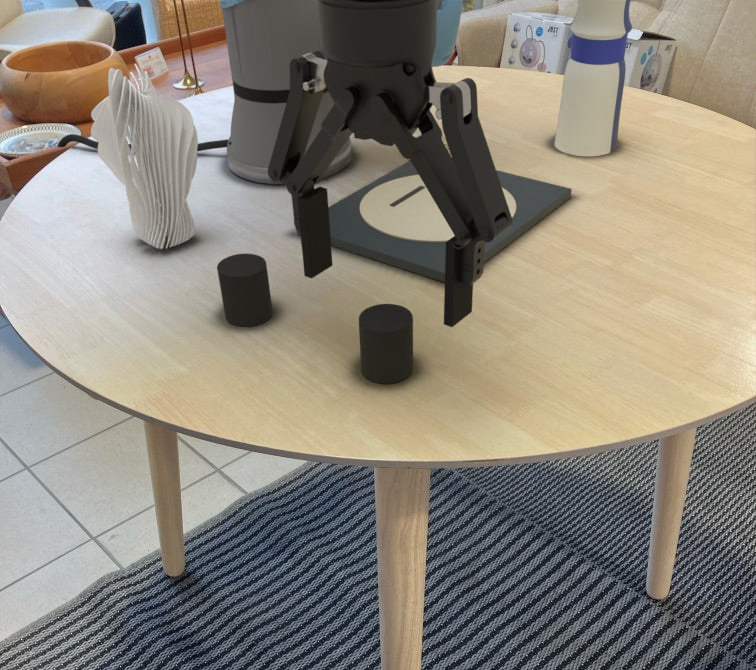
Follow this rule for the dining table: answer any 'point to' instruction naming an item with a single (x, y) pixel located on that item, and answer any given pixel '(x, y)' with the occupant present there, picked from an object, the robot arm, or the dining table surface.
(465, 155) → the robot arm
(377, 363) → the stamp
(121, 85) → the white ribbed sculpture
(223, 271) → the stamp
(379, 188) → the board
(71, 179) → the dining table surface
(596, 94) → the water bottle
